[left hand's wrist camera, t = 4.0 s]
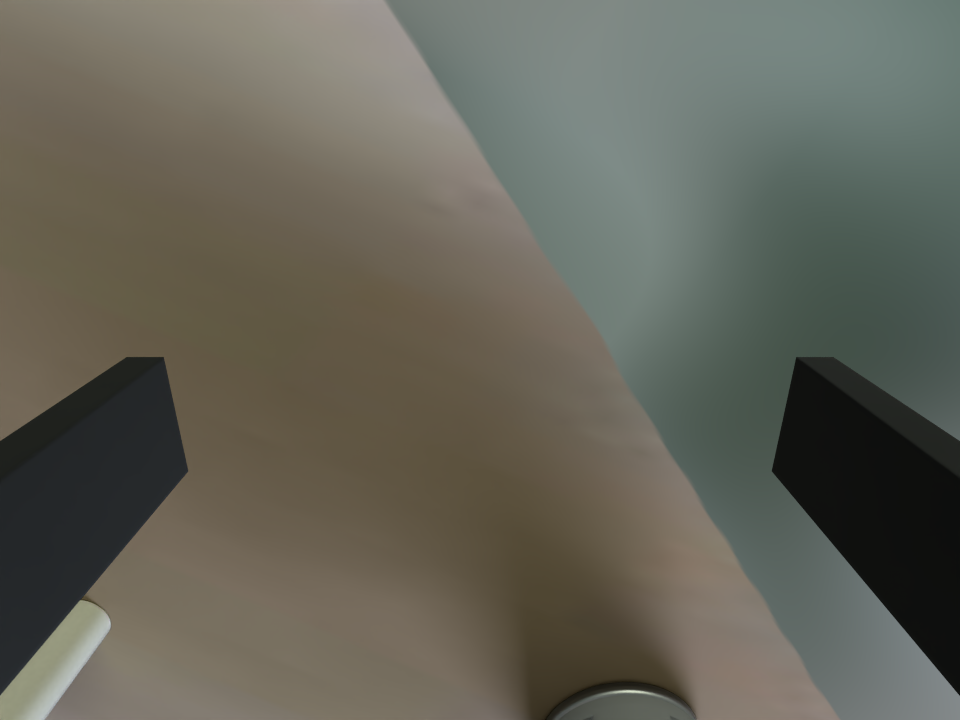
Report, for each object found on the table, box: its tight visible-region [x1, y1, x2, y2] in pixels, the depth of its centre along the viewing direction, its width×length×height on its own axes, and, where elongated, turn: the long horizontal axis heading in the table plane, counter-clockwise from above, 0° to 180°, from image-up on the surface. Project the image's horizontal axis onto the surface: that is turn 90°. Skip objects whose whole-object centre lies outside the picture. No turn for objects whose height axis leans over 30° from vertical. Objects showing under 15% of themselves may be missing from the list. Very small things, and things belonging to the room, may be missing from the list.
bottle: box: [0, 600, 111, 720], centre depth 43 cm, size 5×5×18 cm
